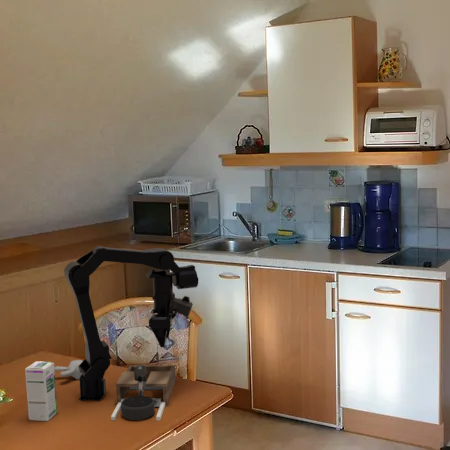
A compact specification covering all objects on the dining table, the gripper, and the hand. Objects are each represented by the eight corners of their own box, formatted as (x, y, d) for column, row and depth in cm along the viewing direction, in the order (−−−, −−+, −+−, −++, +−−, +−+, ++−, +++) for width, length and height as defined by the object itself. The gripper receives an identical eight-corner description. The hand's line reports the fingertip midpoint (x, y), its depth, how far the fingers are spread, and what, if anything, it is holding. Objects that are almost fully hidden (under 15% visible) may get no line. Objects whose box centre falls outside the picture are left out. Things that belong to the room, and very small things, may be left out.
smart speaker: (133, 406, 190) (132, 392, 190) (160, 411, 186) (160, 397, 186) (114, 418, 182) (114, 404, 182) (143, 424, 178) (142, 409, 178)
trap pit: (128, 390, 202) (128, 389, 202) (132, 382, 208) (132, 381, 208) (169, 390, 201) (168, 389, 201) (171, 382, 208) (171, 381, 208)
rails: (111, 420, 181) (110, 416, 181) (118, 405, 191) (118, 402, 190) (160, 420, 180) (159, 416, 180) (165, 405, 190) (165, 402, 190)
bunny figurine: (109, 363, 214) (63, 367, 206) (108, 379, 215) (62, 384, 206) (96, 355, 222) (52, 359, 213) (95, 371, 222) (51, 376, 214)
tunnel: (117, 405, 191) (116, 383, 190) (129, 381, 209) (129, 361, 209) (167, 405, 190) (166, 383, 189) (175, 381, 209) (174, 361, 208)
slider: (120, 408, 188) (118, 368, 186) (122, 403, 191) (121, 364, 190) (160, 408, 187) (159, 368, 186) (162, 403, 191) (160, 364, 189)
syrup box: (48, 421, 181) (45, 368, 179) (27, 420, 182) (24, 367, 180) (57, 413, 186) (55, 361, 184) (37, 411, 188) (34, 360, 186)
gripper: (186, 298, 193) (188, 352, 195) (193, 283, 211) (194, 333, 213) (147, 298, 193) (149, 352, 195) (157, 284, 212) (159, 333, 214)
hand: (164, 342), depth 205 cm, fingers open, 9 cm apart
